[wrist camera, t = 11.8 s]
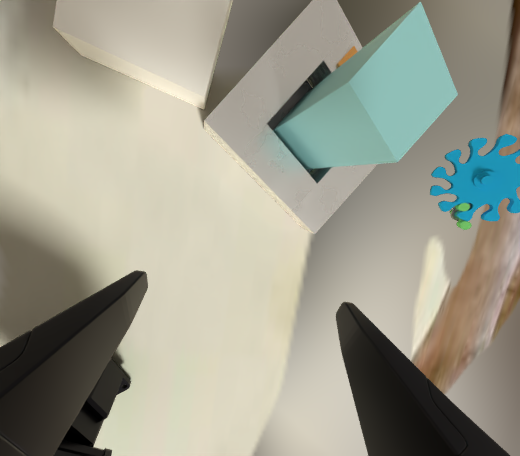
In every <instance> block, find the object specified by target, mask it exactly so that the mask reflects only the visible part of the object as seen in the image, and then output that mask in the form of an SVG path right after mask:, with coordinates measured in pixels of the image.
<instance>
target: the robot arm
mask: <svg viewBox="0 0 520 456" xmlns="http://www.w3.org/2000/svg"><path fill="white" fill-rule="evenodd" d="M147 288H148V282H147V274H146V272H144V271H134V272H132V273H130V274H128V275H127V276H125V277H123V278H121V279H119V280H118V281H116V282H114V283H112V284H111V285H109V286H107V287H105V288H104V289H102V290H100V291H98V292H97V293H95V294H93V295H91V296H90V297H88V298H86V299H84V300H83V301H81V302H79V303H77V304H76V305H74V306H72V307H70V308H69V309H67V310H65V311H63V312H62V313H60V314H58V315H56V316H55V317H53V318H51V319H49V320H48V321H46V322H44V323H42V324H41V325H39V326H37V327H35V328H34V329H33V330H32V331H28V332H26V333H25V334H23V335H21V336H19V337H18V338H16V339H14V340H12V341H11V342H9V343H7V344H5V345H3V346H1V347H0V456H111V454H112V450H110V449H106V448H105V449H104V450H103V449H99V448H95V447H93V446H94V443H95V441H96V438H97V436H98V433H99V431H100V428H101V426H102V423H103V421H104V419H106V418H107V417H108V415H109V412H110V410H111V407H112V405H113V402H114V400H115V397H116V395H118V394H119V393H121V392H123V391H125V390H127V389H128V388H129V387H130V384H131V381H130V379H129V378H128V377H127V376H126V375H125V374H124V373H123V371H122V370H121V369H120V368H119V367H118V366H117V365H116V363H115V362H114V361H113V360H112V359H111V357H112V356H113V354H114V352H115V351H116V349H117V347H118V346H119V344H120V342H121V341H122V339H123V337H124V335H125V334H126V332H127V330H128V329H129V327H130V325H131V323H132V321H133V319H134V317H135V315H136V313H137V310H138V308H139V306H140V304H141V302H142V300H143V297H144V295H145V293H146V291H147ZM336 321H337V327H338V334H339V340H340V346H341V351H342V356H343V359H344V363H345V367H346V371H347V374H348V379H349V383H350V386H351V390H352V394H353V398H354V402H355V406H356V410H357V413H358V417H359V421H360V425H361V429H362V433H363V437H364V440H365V444H366V448H367V452H368V456H510V455H509V454H508V453H507V452H506V451H505V450H503V448H501V447H500V446H499V445H498V444H497V443H496V442H495V441H494V440H493V439H491V438H490V437H489V436H488V435H487V434H486V433H485V432H484V431H483V430H482V429H480V428H479V427H478V426H477V425H476V424H475V423H474V422H473V421H472V420H471V419H470V418H469V417H467V416H466V415H465V414H464V413H463V412H462V411H461V410H460V409H459V408H458V407H457V406H456V405H455V404H453V403H452V402H451V401H450V400H449V399H448V398H447V397H446V396H445V395H444V394H443V393H442V392H441V391H440V390H439V389H438V388H437V387H436V386H435V385H434V384H433V383H432V382H431V381H430V380H429V379H428V378H426V376H425V375H424V374H423V373H422V372H421V371H420V370H419V369H418V368H417V367H416V366H415V365H414V364H413V363H412V362H411V361H410V360H409V359H408V358H407V357H406V356H405V355H404V354H403V353H402V352H401V351H400V350H399V349H398V348H397V347H396V346H395V345H394V344H393V343H392V342H391V341H390V340H389V339H388V338H387V337H386V336H385V335H384V334H383V333H382V332H381V331H380V330H379V329H378V328H377V327H376V326H375V325H374V324H373V323H372V322H371V321H370V320H369V319H368V318H367V317H366V316H365V315H364V314H363V313H362V312H361V311H360V310H359V309H358V308H357V307H356V306H355V305H354V304H353V303H349V302H343V303H342V304H341V306H340V307H339V309H338V311H337V313H336Z"/></svg>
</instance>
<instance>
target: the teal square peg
mask: <svg viewBox="0 0 520 456" xmlns="http://www.w3.org/2000/svg"><path fill="white" fill-rule="evenodd" d="M457 95H458V94H457V91H456V89H455V86H454V84H453V81H452V79H451V76H450V74H449V71H448V69H447V66H446V64H445V61H444V59H443V56H442V54H441V51H440V49H439V46H438V44H437V41H436V39H435V36H434V34H433V31H432V29H431V26H430V24H429V21H428V18H427V16H426V13H425V11H424V8H423V6H422V3H421V2H419V3H418V4H417V5H416V6H414V7H413V8H412V9H411V10H409V11H408V12H407V13H406V14H404V15H403V16H402V17H401V18H400V19H398V20H397V21H396V22H394V23H393V24H392V25H391V26H389V27H388V28H387V29H386V30H384V31H383V32H382V33H381V34H379V35H378V36H377V37H376V38H374V39H373V40H372V41H371V42H370V43H368V44H367V45H366V46H365V47H363V48H362V49H361V50H360V51H358V52H357V53H356V54H355V55H353V56H352V57H351V58H350V59H348V60H347V61H346V62H345V63H343V64H342V65H341V66H340V67H338V68H337V69H336V70H335V71H333V72H332V73H331V74H330V75H328V76H327V77H326V78H325V79H323V80H322V81H321V82H320V83H318V84H317V85H316V86H315V87H313V88H312V89H311V90H310V91H308V92H307V93H306V94H305V95H304V96H303V97H302V98H301V100H300V101H299V102H298V103H297V104H296V105H295V106H294V107H293V109H292V110H291V111H290V112H289V113H288V114H287V115H286V116H285V117H284V119H283V120H282V121H281V122H280V123H279V124H278V125H277V126H276V128H275V129H274V130H273V132H274V133H275V134H276V135H277V136H278V138H279V139H280V140H281V141H282V142H283V144H284V145H285V146H286V147H287V148H288V150H289V151H290V152H291V153H292V154H293V155H294V157H295V158H296V159H297V160H298V161H299V163H300V164H301V165H302V166H303V167H304V169H314V168H327V167H340V166H354V165H367V164H380V163H393V162H398V161H399V160H400V159H401V158H402V157H403V155H404V154H405V153H406V152H407V151H408V150H409V149H410V147H412V145H413V144H414V143H415V142H416V141H417V140H418V139H419V138H420V136H421V135H422V134H423V133H424V132H425V131H426V130H427V128H429V126H430V125H431V124H432V123H433V122H434V121H435V120H436V118H437V117H438V116H439V115H440V114H441V113H442V112H443V111H444V110H445V108H446V107H447V106H448V105H449V104H450V103H451V102H452V101H453V99H454V98H455V97H456V96H457Z"/></svg>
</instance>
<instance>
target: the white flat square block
mask: <svg viewBox="0 0 520 456" xmlns="http://www.w3.org/2000/svg"><path fill="white" fill-rule="evenodd" d="M232 3H233V0H57V1H56V7H55V14H54V21H53V28H54V29H55V30H56V31H57V32H58V33H59V34H60V35H61V36H62V37H63V38H64V39H65V40H66V41H67V42H68V43H69V44H70V45H71V46H72V47H73V48H74V49H75V50H76V51H77V52H78V53H79V54H80V55H81V56H84V57H86V58H88V59H90V60H93V61H95V62H97V63H100V64H102V65H104V66H106V67H109V68H111V69H113V70H115V71H118V72H120V73H122V74H124V75H127V76H129V77H131V78H133V79H136V80H138V81H140V82H142V83H145V84H147V85H149V86H152V87H154V88H156V89H158V90H161V91H163V92H165V93H167V94H170V95H172V96H174V97H176V98H179V99H181V100H183V101H185V102H188V103H190V104H192V105H194V106H197V107H199V108H201V109H205V105H206V101H207V98H208V94H209V90H210V86H211V82H212V79H213V75H214V71H215V67H216V63H217V60H218V56H219V52H220V48H221V44H222V40H223V37H224V33H225V29H226V26H227V22H228V18H229V14H230V11H231V7H232Z"/></svg>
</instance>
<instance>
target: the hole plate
mask: <svg viewBox="0 0 520 456" xmlns="http://www.w3.org/2000/svg"><path fill="white" fill-rule="evenodd" d="M361 49H362V46H361V44H360V42H359V41H358V39H357V37H356V35H355V33H354V31H353V29H352V27H351V25H350V24H349V22H348V20H347V18H346V16H345V14H344V13H343V11H342V9H341V7H340V5H339V3H338V1H337V0H312V1H311V2H310V4H309V5H308V6H307V7H306V8H305V9H304V10H303V12H302V13H300V15H299V16H298V17H297V18H296V19H295V20H294V21H293V22H292V24H291V25H290V26H289V27H288V28H287V29H286V30H285V31H284V32H283V33H282V35H281V36H280V37H279V38H278V39H277V40H276V41H275V43H274V44H273V45H272V46H271V47H270V48H269V49H268V50H267V51H266V53H264V55H263V56H262V57H261V58H260V59H259V60H258V61H257V62H256V63H255V65H254V66H253V67H252V68H251V69H250V70H249V71H248V72H247V73H246V75H245V76H244V77H243V78H242V79H241V80H240V81H239V82H238V83H237V85H236V86H235V87H234V88H233V89H232V90H231V91H230V92H229V93H228V95H227V96H226V97H225V98H224V99H223V100H222V101H221V102H220V103H219V105H218V106H217V107H216V108H215V109H214V110H213V111H212V112H211V113H210V115H209V116H208V117H207V118H206V119H205V120H204V130H205V131H206V132H207V133H208V134H209V135H210V136H211V137H212V138H213V139H214V140H215V141H216V142H217V143H218V144H219V145H220V146H221V147H222V148H223V149H224V150H225V151H226V152H227V153H228V154H229V155H230V156H231V157H232V158H233V159H234V160H235V161H236V162H237V163H238V164H239V165H240V166H241V167H242V168H243V169H244V170H245V171H246V172H247V173H248V174H249V175H250V176H251V177H252V178H253V179H254V180H255V181H256V182H257V183H258V184H259V185H260V186H261V187H262V188H263V189H264V190H265V191H266V192H267V193H268V194H269V195H270V196H271V197H272V198H273V199H274V200H275V201H276V202H277V203H278V205H279V206H280V207H281V208H282V209H283V210H284V211H285V212H286V213H287V214H288V215H289V216H290V217H291V218H292V219H293V220H294V221H295V222H296V223H297V224H298V225H299V226H300V227H302V228H304V229H306V230H308V231H310V232H311V233H313V234H315V233H316V232H317V231H318V230H319V229H320V228H321V226H322V225H323V224H324V223H325V222H326V221H327V220H328V218H330V216H331V215H332V214H333V213H334V212H335V211H336V210H337V209H338V207H339V206H340V205H341V204H342V203H343V202H344V201H345V200H346V199H347V198H348V196H349V195H350V194H351V193H352V192H353V191H354V190H355V189H356V187H357V186H358V185H359V184H360V183H361V182H362V180H364V178H365V177H366V176H367V175H368V174H369V173H370V172H371V171H372V170H373V168H374V167H375V166H376V165H377V164H367V165H354V166H340V167H327V168H315V169H314V171H313V172H312V173H311V174H309V173H310V172H311V171H312V170H313V169H304V167H303V166H302V165H301V164H300V163H299V161H298V160H297V159H296V158H295V157H294V155H293V154H292V153H291V152H290V151H289V150H288V148H287V147H286V146H285V145H284V144H283V142H282V141H281V140H280V139H279V138H278V136H277V135H276V134H275V133H274V132H273V130H274V129H275V128H276V126H277V125H278V124H279V123H280V122H281V121H282V120H283V119H284V117H285V116H286V115H287V114H288V113H289V112H290V111H291V110H292V109H293V107H294V106H295V105H296V104H297V103H298V102H299V101H300V100H301V98H302V97H303V96H304V95H305V94H306V93H307V92H308V91H310V90H311V89H312V87H315V86H316V85H317V84H318V83H320V82H321V81H322V80H323V79H325V78H326V77H327V76H328V75H330V74H331V73H332V72H333V71H335V70H336V69H337V68H338V67H340V66H341V65H342V64H343V63H345V62H346V61H347V60H348V59H350V58H351V57H352V56H353V55H355V54H356V53H357V52H358V51H360V50H361ZM306 79H308V81H309V82H310V84H311V85H312V87H311V86H310V85H309V83H308V82H307V80H306ZM305 80H306V81H305ZM300 86H301V87H300ZM299 87H300V88H299ZM298 88H299V89H298ZM297 89H298V90H297ZM296 90H297V91H296ZM291 96H292V97H291ZM290 97H291V98H290ZM289 98H290V99H289ZM288 99H289V100H288ZM287 100H288V101H287ZM282 106H283V107H282ZM281 107H282V108H281ZM280 108H281V109H280ZM279 109H280V110H279ZM278 110H279V111H278ZM273 116H274V117H273ZM272 117H273V118H272ZM271 118H272V119H271ZM270 119H271V120H270ZM269 120H270V121H269Z"/></svg>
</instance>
